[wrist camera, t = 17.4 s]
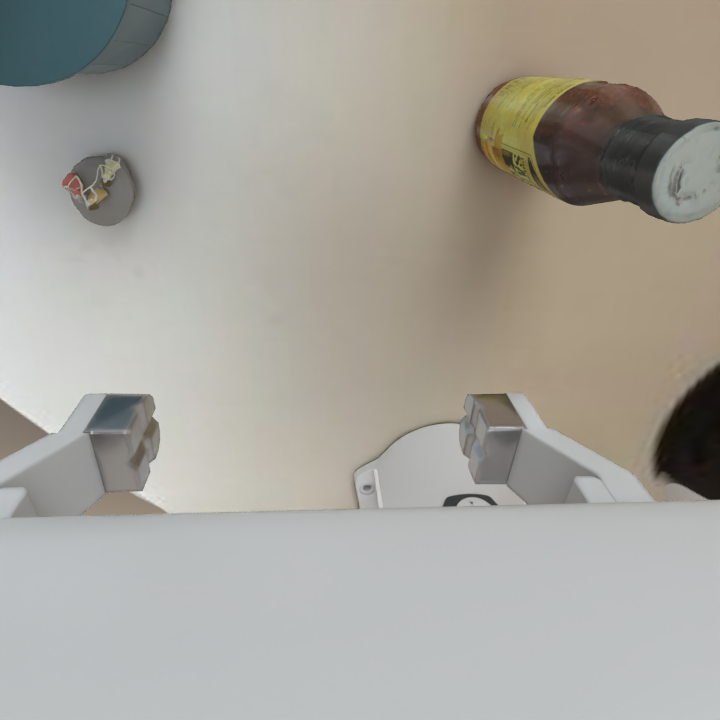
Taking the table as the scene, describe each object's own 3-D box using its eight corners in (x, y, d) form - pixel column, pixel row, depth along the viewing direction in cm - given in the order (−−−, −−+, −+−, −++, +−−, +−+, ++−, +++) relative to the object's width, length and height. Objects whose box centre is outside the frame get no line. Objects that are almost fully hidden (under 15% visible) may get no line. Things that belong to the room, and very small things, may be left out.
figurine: (128, 229, 38) (99, 254, 33) (69, 199, 37) (29, 220, 32) (152, 168, 36) (126, 185, 31) (91, 134, 35) (53, 145, 30)
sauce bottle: (459, 152, 38) (581, 223, 21) (495, 61, 35) (672, 57, 18) (533, 179, 39) (704, 267, 22) (574, 94, 36) (806, 120, 19)
